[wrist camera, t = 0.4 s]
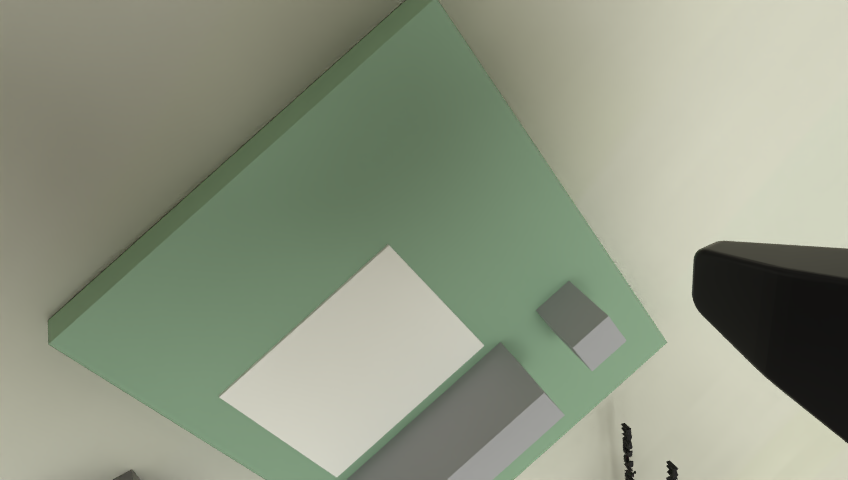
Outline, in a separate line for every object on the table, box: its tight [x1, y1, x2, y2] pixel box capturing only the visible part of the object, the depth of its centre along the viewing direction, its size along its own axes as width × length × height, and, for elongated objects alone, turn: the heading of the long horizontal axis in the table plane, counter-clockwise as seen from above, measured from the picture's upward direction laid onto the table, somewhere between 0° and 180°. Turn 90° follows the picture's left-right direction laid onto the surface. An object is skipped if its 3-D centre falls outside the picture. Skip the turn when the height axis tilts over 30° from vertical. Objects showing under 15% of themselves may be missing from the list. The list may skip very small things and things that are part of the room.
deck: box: [48, 0, 667, 480], centre depth 26 cm, size 18×14×4 cm
